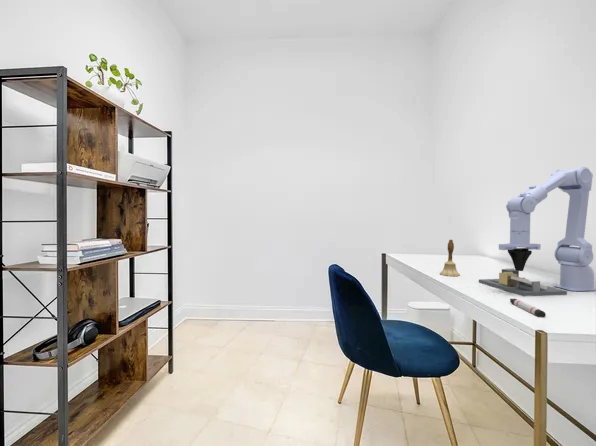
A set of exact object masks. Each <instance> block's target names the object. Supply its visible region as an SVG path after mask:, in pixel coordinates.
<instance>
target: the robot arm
mask: <svg viewBox="0 0 596 446" xmlns="http://www.w3.org/2000/svg"><path fill="white" fill-rule="evenodd" d="M593 177H594V175H593V173H592V171H590V169H589V168H588V167H586V166H581V167H575V168H567V169H557V170H555V171H554V172H552V173H551V174H550V177H548V179H546V180H545V181H543V182H542V183H541V184H540V185H537V184H536V185H530V186H529V187H528V189H527V190H525V191H524V192H520V194H519V195H518V196H516V197H515V196H514V197H511V198H510V199H509V200H508V201H507V204H506V205H505V208H506V211H507V213H508V217H509V218H510V219H509V218H508V219H509V220H510V222H509V224H510V225H509V228H510V229H509V243H498V250H499V251H507V253H508V255H509V257H511V261H512V263H513V268H514V270H517V271H519V272H524V269H525V266H526V263H527V261H528V259H529V258H530V256H531V255H532V253H533V251H532V250H537V251H540V250H541V248H542V247H541V244H540V243H531V242H530V241H531V213H533V212H534V211H535V210H536V206H538V204H540V203H541V202H543V201H544V200H545V199H547V197H548V193H550V192H552V191H553V190H555V189H557V188H558V190H559V189H560V191H562V192H564V193H566V194H567V195H568V196H569V200H568V210H567V218H566V228H565V236H564V237H563V238H562V239H561V240H559V241H558V242H557V246H556V248H555V250H554V258H555V260H556V261H558V264H560V269H559V272H560V273H559V275H560V276H559V284H555V285H554V284H553V288H557V289H561V290H565V291H571V292H588V291H591V292H592V291H596V288H594V285H595V284H594V283H595V281H594V280H595V272H594V269H593V268H592V267H591V266H590V264H591V263H593V260H594V253H593V244H592V243H590V242H589V241H587V240H586V239H585V235H586V234H585V232H586V223H587V216H588V206H589V200H590V199H589V197H590V192H591V191H592V184H593Z"/></svg>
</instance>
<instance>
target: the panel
mask: <svg viewBox="0 0 596 446" xmlns="http://www.w3.org/2000/svg"><path fill="white" fill-rule="evenodd" d="M523 278H524V279H526V277H523ZM478 283H479V284H482V285H486V286H490V287H492V288H495V289H499V290H503V291H505V292H509V293H513V294H515V295H518V296H521V297H537V296H562V295H563V296H566V295H567V294H568V290H566V289H562V288H558V287H554V286H553V287H552V286H548V285H546V286H547V290H546V289H543V288H540V284H541V281H540V280H538V281H536V280H535V281H534V280H533V281H532V285H529V284H525V283H522V282H520V281H517V285H515V286H506V285H503V284H499V278H485V279H482V278H481V279H478Z"/></svg>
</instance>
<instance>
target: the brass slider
mask: <svg viewBox="0 0 596 446" xmlns="http://www.w3.org/2000/svg"><path fill="white" fill-rule="evenodd" d="M511 276H516V277H517V274H513V272H504V273H502V272H498V279H499V284H503V285H506V286H515V285H517V280H514V279H511Z"/></svg>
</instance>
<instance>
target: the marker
mask: <svg viewBox="0 0 596 446" xmlns="http://www.w3.org/2000/svg"><path fill="white" fill-rule="evenodd" d="M509 302H510V303H511V304H512V305H514V306H516V307H517V306H518V307H517V308H519V309H521V308H522V310H523V309H524V311H526V312H527V313H530V314H531V315H534V316H535V317H539V318H545V317H546V315H547V314H546V312H545V311H543V310H542V309H539V308H538V307H535V306H534V305H533V306H532V305H531V304H528V303H526V302H524V301H522V300H519V299H517V298H510V299H509Z"/></svg>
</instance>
